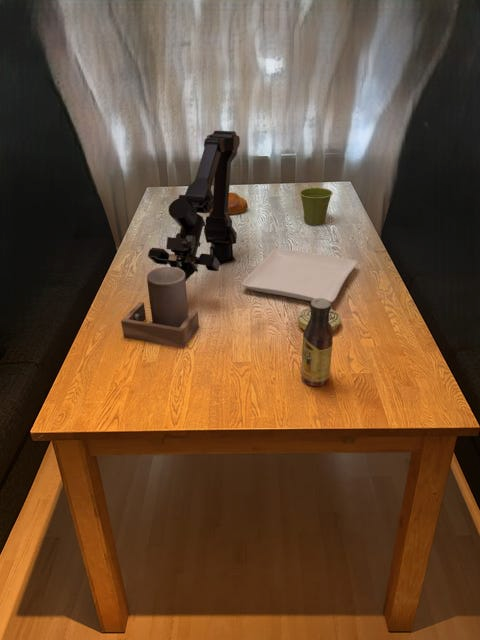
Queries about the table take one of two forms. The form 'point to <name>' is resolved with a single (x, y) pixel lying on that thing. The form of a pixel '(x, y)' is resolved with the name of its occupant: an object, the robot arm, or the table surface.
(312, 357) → the sauce bottle
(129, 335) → the holder
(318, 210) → the plant pot
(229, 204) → the croissant
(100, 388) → the table surface
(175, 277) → the pillar candle
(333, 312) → the decorated donut
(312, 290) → the square plate
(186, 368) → the table surface
